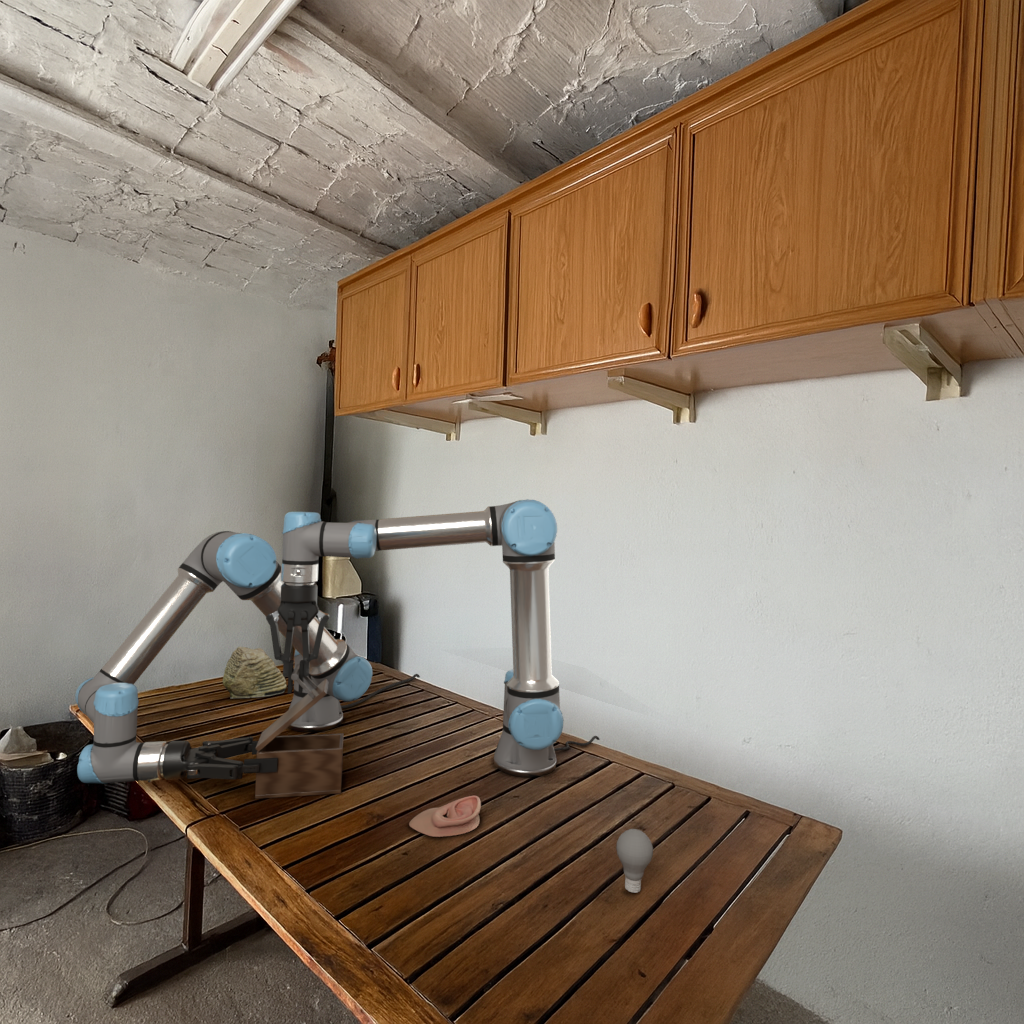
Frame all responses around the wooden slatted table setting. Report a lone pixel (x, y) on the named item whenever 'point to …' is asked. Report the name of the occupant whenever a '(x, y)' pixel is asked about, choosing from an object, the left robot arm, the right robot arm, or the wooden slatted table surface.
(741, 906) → the wooden slatted table surface
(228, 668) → the fossil
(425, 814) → the anatomical model
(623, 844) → the light bulb
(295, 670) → the lid
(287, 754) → the chest
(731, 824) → the wooden slatted table surface
